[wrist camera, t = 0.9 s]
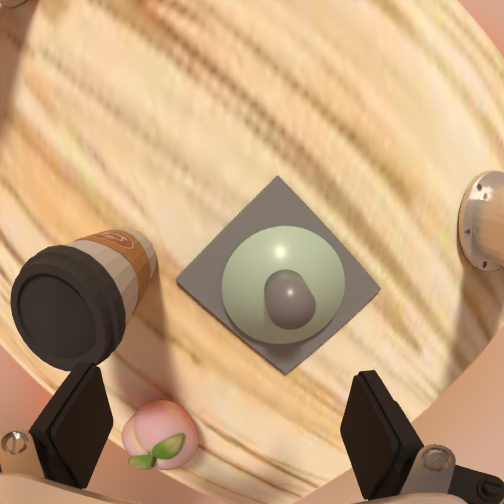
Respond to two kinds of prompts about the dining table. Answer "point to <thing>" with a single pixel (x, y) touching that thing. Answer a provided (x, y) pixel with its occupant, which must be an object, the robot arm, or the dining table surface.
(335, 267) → the lid
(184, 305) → the dining table surface
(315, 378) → the dining table surface
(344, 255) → the mat
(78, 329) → the coffee cup
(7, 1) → the travel mug
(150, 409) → the decorative fruit
